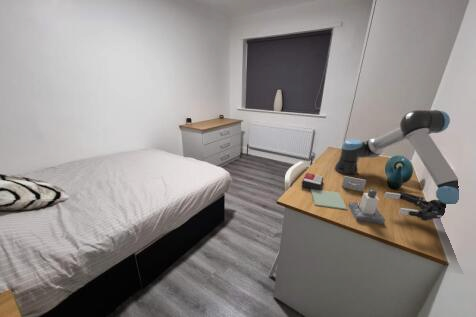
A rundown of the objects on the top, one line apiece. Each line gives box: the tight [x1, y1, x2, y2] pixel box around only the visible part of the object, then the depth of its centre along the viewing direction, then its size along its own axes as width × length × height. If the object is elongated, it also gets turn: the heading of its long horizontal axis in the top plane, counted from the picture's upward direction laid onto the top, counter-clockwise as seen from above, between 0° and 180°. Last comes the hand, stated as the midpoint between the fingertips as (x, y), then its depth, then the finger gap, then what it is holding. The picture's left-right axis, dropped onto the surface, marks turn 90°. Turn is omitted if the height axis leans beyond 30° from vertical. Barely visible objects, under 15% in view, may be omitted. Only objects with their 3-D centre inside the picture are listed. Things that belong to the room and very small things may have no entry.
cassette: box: [341, 175, 367, 192], centre depth 121 cm, size 12×2×8 cm, turn 66°
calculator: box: [301, 172, 324, 190], centre depth 126 cm, size 11×4×15 cm
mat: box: [310, 188, 348, 210], centre depth 111 cm, size 16×16×1 cm
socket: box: [348, 201, 386, 225], centre depth 99 cm, size 12×12×2 cm
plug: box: [359, 188, 380, 215], centre depth 97 cm, size 5×5×14 cm
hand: (392, 202), depth 94 cm, fingers open, 13 cm apart
